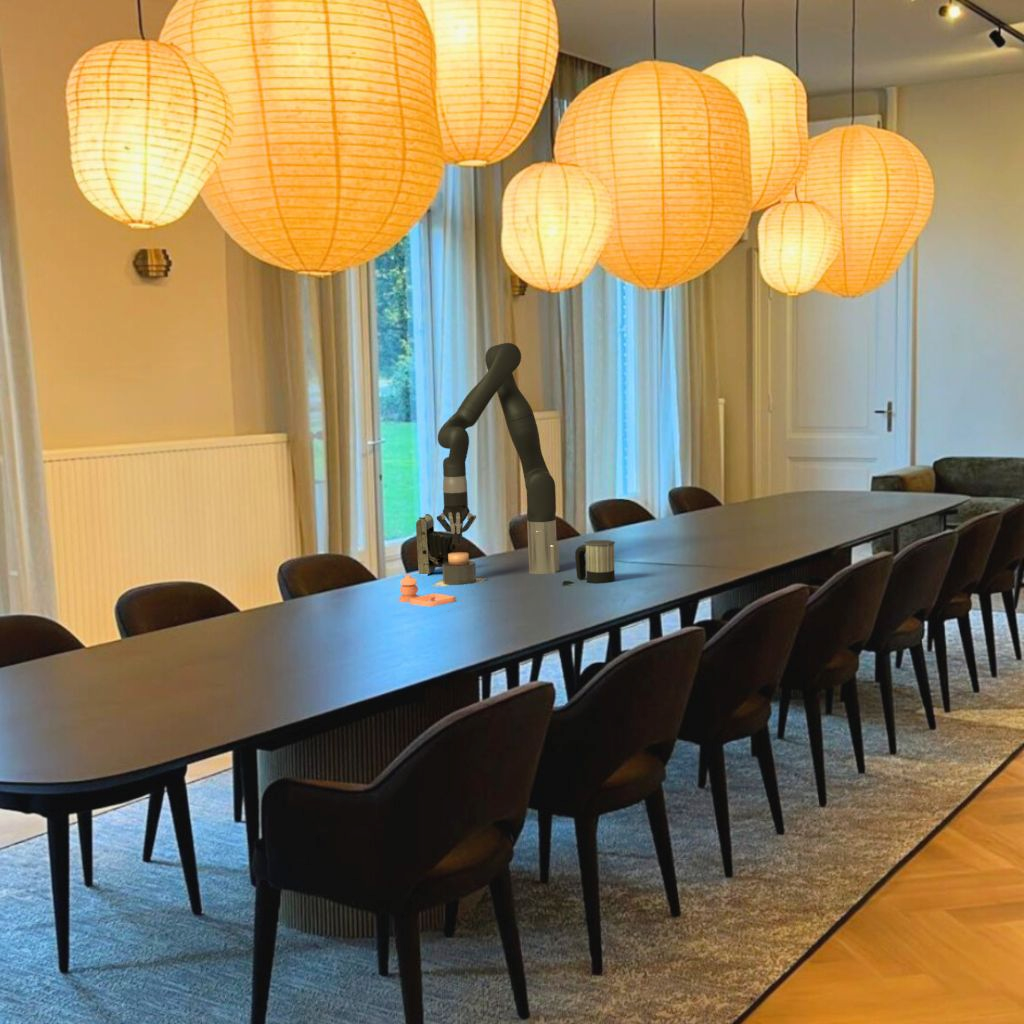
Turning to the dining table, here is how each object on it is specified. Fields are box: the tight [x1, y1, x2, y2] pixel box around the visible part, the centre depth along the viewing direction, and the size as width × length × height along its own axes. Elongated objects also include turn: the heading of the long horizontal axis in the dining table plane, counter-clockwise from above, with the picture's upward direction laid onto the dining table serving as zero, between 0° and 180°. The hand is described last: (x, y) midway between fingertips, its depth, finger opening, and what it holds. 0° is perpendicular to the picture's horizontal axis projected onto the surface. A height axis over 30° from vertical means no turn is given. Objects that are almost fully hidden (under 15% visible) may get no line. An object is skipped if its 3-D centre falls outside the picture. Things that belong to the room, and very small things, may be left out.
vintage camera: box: [415, 513, 457, 575], centre depth 435 cm, size 10×15×20 cm, turn 78°
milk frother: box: [561, 539, 616, 587], centre depth 397 cm, size 14×16×15 cm
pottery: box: [398, 574, 457, 607], centre depth 381 cm, size 18×10×10 cm, turn 46°
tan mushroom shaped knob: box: [448, 551, 470, 565], centre depth 413 cm, size 6×6×8 cm
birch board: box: [431, 577, 488, 587], centre depth 414 cm, size 14×14×2 cm
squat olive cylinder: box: [441, 560, 477, 586], centre depth 413 cm, size 10×10×6 cm
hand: (457, 545), depth 412 cm, fingers closed
